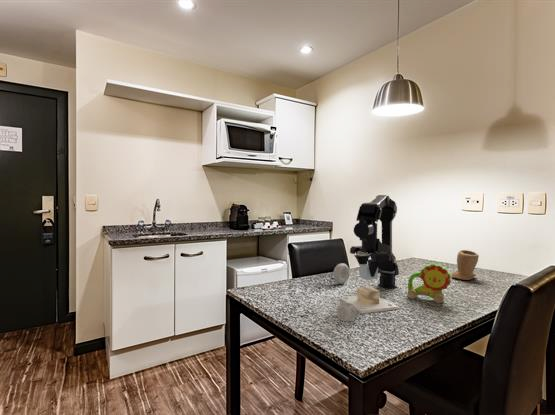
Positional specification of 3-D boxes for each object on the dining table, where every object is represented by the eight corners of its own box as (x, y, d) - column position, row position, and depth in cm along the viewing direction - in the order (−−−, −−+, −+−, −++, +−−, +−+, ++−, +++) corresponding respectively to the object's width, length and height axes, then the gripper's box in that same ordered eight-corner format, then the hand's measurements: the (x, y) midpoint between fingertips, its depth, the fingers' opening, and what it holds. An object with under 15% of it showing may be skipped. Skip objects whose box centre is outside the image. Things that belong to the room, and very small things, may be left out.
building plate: (372, 296, 134) (372, 292, 134) (398, 309, 119) (398, 305, 119) (339, 299, 129) (339, 295, 129) (361, 313, 114) (361, 309, 114)
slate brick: (370, 275, 127) (370, 263, 126) (377, 279, 122) (378, 266, 122) (359, 276, 125) (359, 264, 125) (366, 279, 120) (366, 266, 120)
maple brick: (370, 298, 127) (370, 286, 127) (379, 303, 122) (379, 290, 122) (357, 300, 125) (357, 287, 125) (365, 304, 120) (366, 291, 120)
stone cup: (473, 283, 158) (474, 253, 157) (448, 278, 167) (449, 250, 166) (482, 278, 168) (483, 250, 168) (458, 274, 177) (459, 247, 176)
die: (356, 319, 108) (357, 304, 108) (349, 323, 105) (349, 308, 105) (343, 315, 112) (344, 301, 112) (336, 319, 108) (336, 304, 108)
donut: (345, 281, 157) (346, 261, 157) (351, 283, 154) (351, 262, 154) (331, 284, 151) (331, 263, 151) (336, 286, 149) (337, 265, 148)
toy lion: (406, 298, 132) (407, 262, 132) (408, 294, 137) (409, 260, 137) (449, 305, 124) (451, 266, 124) (450, 301, 129) (451, 264, 129)
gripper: (403, 238, 117) (401, 279, 117) (372, 232, 134) (371, 268, 135) (377, 238, 113) (376, 282, 114) (349, 233, 131) (348, 270, 131)
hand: (368, 275), depth 123 cm, fingers closed on slate brick, 5 cm apart
